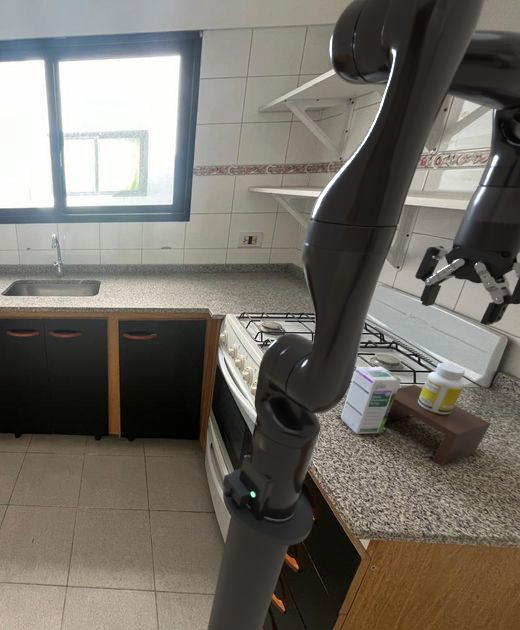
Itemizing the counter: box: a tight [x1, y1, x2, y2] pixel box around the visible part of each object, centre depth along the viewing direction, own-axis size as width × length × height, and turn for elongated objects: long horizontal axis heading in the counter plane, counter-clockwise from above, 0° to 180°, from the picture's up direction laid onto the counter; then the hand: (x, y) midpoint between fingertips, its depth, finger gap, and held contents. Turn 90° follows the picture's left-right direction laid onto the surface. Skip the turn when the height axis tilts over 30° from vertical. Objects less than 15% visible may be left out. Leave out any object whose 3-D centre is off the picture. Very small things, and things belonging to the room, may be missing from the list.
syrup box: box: [340, 365, 402, 435], centre depth 77 cm, size 6×6×14 cm
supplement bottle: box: [418, 362, 466, 414], centre depth 72 cm, size 5×5×10 cm
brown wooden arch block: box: [385, 384, 492, 466], centre depth 75 cm, size 10×14×8 cm
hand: (455, 313), depth 59 cm, fingers open, 8 cm apart
